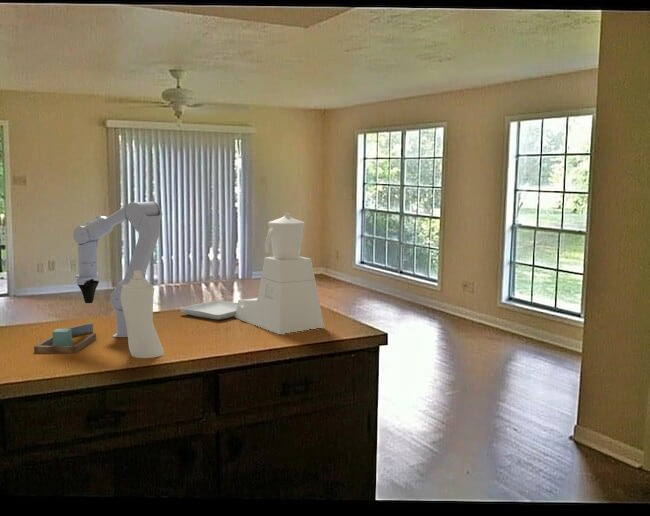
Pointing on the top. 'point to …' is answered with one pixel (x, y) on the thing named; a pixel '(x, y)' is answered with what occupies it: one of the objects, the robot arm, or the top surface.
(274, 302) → the blender
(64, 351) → the bay
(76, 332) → the gate
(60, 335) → the teal block
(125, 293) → the white bottle
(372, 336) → the top surface
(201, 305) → the salad plate
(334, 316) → the top surface
